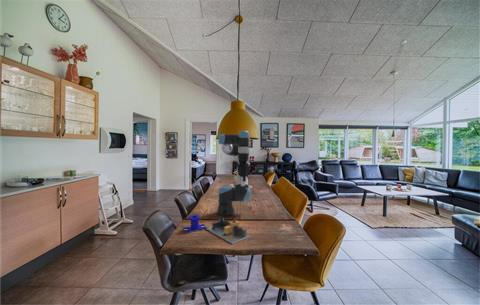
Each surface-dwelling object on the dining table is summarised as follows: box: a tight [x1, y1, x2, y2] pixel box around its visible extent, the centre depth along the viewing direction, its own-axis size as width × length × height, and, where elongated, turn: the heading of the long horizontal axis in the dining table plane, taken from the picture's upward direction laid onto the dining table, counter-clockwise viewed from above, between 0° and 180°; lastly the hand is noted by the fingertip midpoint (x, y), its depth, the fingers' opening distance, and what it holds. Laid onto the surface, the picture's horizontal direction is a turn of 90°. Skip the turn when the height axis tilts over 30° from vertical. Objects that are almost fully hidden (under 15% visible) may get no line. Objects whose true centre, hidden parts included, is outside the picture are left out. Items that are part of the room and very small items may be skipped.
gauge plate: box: [205, 216, 250, 245], centre depth 139 cm, size 28×14×7 cm, turn 42°
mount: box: [182, 214, 207, 233], centre depth 145 cm, size 15×8×9 cm, turn 118°
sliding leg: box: [224, 219, 240, 235], centre depth 137 cm, size 3×11×7 cm, turn 132°
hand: (242, 185), depth 150 cm, fingers closed
